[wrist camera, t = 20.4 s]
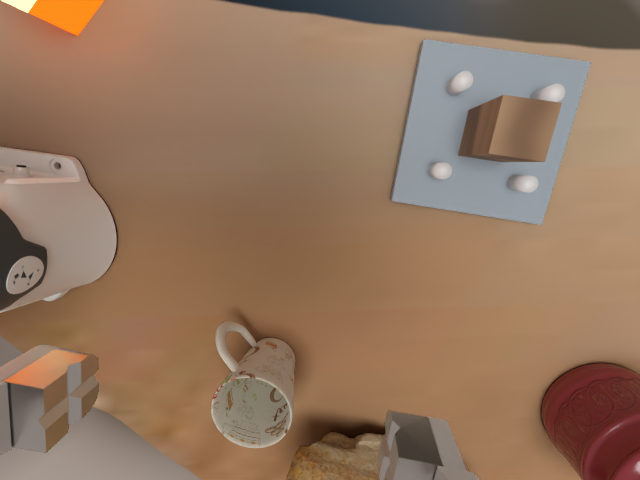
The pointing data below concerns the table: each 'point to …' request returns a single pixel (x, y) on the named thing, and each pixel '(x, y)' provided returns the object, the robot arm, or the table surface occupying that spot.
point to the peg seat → (449, 121)
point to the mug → (255, 390)
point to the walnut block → (510, 129)
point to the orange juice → (60, 11)
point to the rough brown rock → (338, 458)
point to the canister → (596, 421)
